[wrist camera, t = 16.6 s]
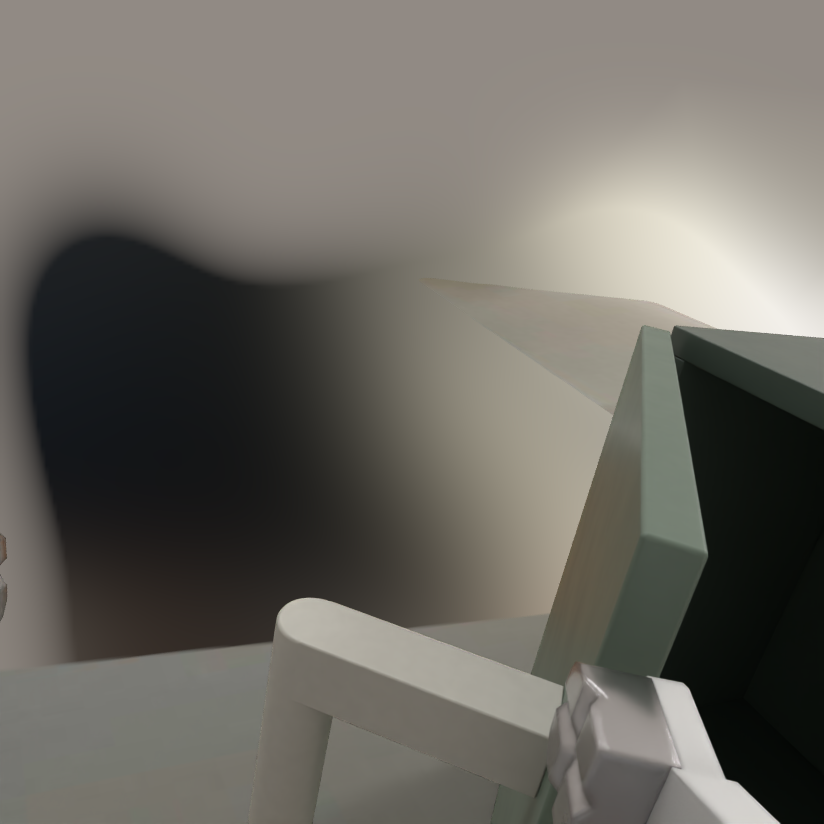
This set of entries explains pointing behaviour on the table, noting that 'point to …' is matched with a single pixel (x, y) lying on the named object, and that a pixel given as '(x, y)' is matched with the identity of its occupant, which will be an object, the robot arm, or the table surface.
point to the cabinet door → (486, 679)
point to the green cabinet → (757, 561)
